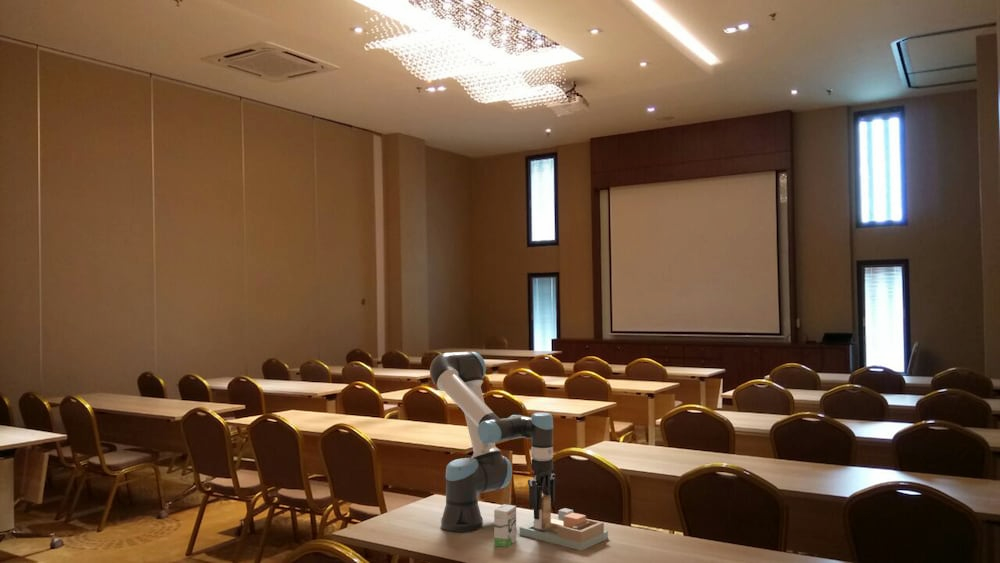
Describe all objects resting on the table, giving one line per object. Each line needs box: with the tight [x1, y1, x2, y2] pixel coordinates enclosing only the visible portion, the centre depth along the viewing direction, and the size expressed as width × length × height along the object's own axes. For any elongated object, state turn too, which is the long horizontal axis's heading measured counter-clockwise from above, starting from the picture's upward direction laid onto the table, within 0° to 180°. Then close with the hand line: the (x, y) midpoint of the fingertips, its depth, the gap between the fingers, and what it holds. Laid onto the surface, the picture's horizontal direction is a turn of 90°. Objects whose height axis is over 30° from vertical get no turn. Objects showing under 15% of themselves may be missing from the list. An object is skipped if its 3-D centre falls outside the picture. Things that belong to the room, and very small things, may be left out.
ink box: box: [493, 503, 517, 548], centre depth 244 cm, size 9×5×12 cm, turn 157°
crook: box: [537, 493, 590, 533], centre depth 249 cm, size 18×9×11 cm, turn 49°
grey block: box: [557, 507, 574, 521], centre depth 269 cm, size 4×4×4 cm
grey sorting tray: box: [519, 517, 609, 552], centre depth 250 cm, size 26×16×6 cm, turn 49°
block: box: [563, 512, 587, 528], centre depth 247 cm, size 6×6×6 cm
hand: (542, 526), depth 250 cm, fingers closed on crook, 4 cm apart
